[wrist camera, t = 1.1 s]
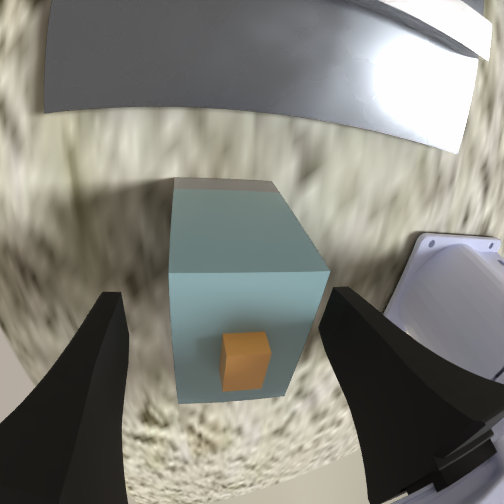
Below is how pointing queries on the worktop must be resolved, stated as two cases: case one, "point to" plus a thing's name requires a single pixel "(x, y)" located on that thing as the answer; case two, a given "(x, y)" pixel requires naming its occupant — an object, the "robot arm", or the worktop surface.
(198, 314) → the block
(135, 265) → the worktop surface
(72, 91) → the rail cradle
